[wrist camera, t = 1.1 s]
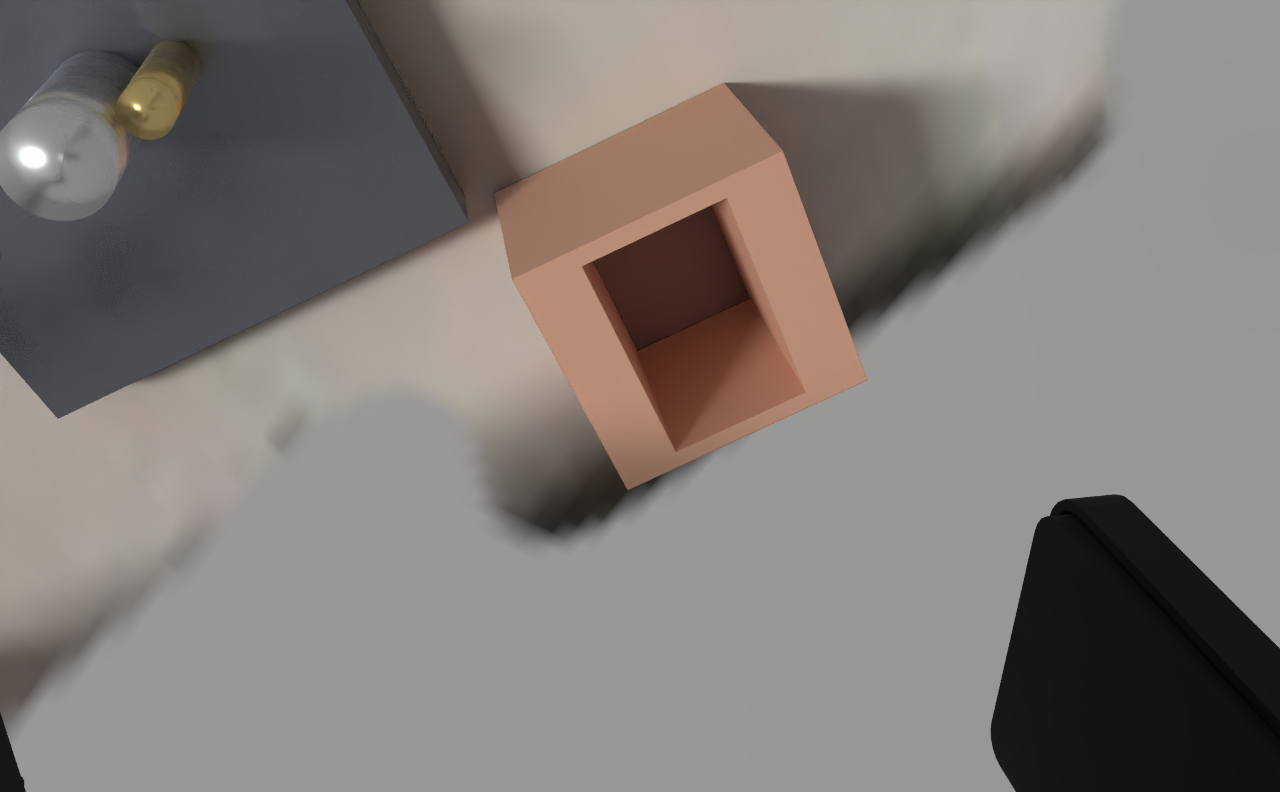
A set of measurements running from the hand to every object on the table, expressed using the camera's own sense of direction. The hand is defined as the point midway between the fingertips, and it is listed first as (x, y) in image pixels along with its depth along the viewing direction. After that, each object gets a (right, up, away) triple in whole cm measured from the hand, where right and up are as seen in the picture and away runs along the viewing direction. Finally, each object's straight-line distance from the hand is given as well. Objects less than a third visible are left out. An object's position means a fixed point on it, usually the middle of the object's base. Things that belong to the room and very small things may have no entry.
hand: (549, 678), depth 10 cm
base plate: (-13, +11, +20) cm, 26 cm away
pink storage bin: (+1, +7, +25) cm, 26 cm away
